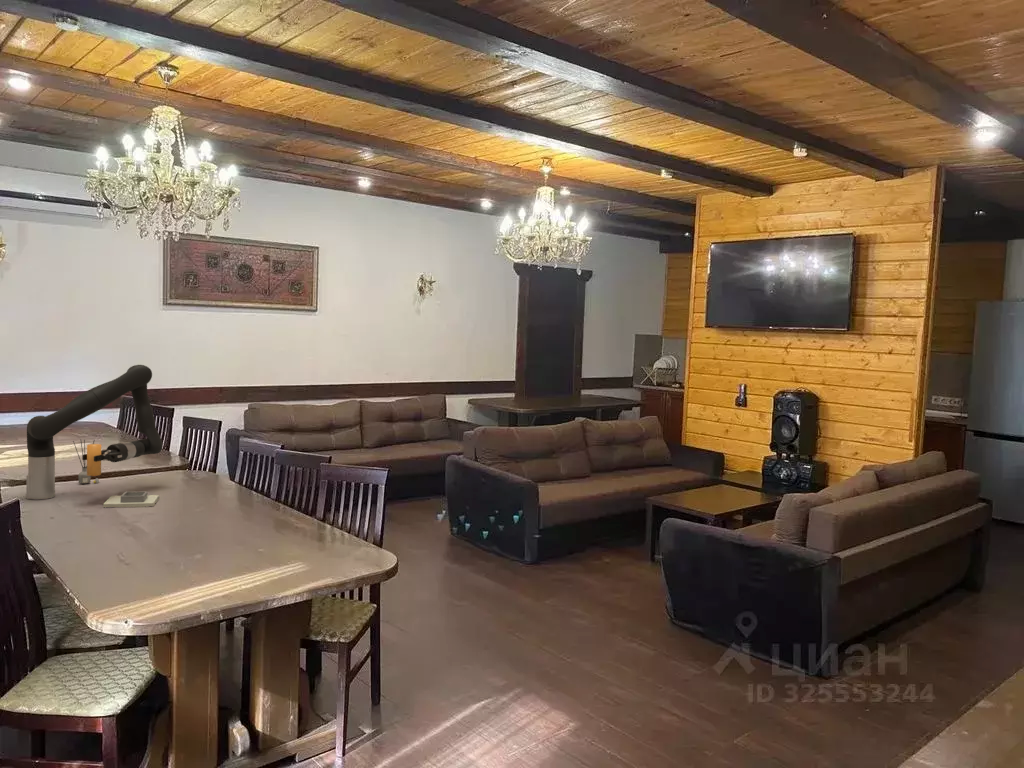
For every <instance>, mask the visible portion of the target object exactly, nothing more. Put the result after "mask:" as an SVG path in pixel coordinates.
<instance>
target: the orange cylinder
mask: <svg viewBox="0 0 1024 768" xmlns="http://www.w3.org/2000/svg"><path fill="white" fill-rule="evenodd" d="M101 450H102V444H100V443H94V444H93V443H90V444H86V454H87V460H86V466H87V475H88V476H91V477H96V476H101V475H102V461H97V462H95V461H94V456H97V455H101Z"/></svg>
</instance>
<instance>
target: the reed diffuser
mask: <svg viewBox="0 0 1024 768" xmlns="http://www.w3.org/2000/svg"><path fill="white" fill-rule="evenodd" d="M72 442H73V445H74V448H75V450H76V453H77V456H78V459H79V462H80V464H81V472H79V473H78V477H77V478H78V483H79V484H89V483H91V482H93V483H94V484H99V483H100V479H99V478H97V477H96V478H95V479H94V480H92V481H91V478H92V476H88V475H87V465H86V463H85V460H81V458H80V455H79V452H78V449H77V445H76V444H75V441H74V440H73V441H72ZM83 444H84V446H83ZM92 444H95V439H93V442H92ZM80 447H81V453H82V455H84V454H86V439H83V443H82V439H80ZM83 448H84V450H83ZM82 461H83V463H82Z"/></svg>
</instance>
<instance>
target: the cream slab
mask: <svg viewBox="0 0 1024 768" xmlns="http://www.w3.org/2000/svg"><path fill="white" fill-rule="evenodd" d="M148 493H149V492H148V490H147V491H146V490H145V491H124V492H123V494H121V495H110V496H109V498H108V499H107V500H106V501H105V502H104V503H102V508H103V509H107V508H106V507H121V508H148V507H147V506H153V507H155V505H156V504H157V502H158V501H159V500H158V499H160V494H152V495H151V494H148ZM155 503H156V504H155ZM145 506H146V507H145ZM104 507H105V508H104Z"/></svg>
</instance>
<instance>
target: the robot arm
mask: <svg viewBox="0 0 1024 768" xmlns="http://www.w3.org/2000/svg"><path fill="white" fill-rule="evenodd" d="M152 378H153V371H152V370H151V368H150V367H149V366H147V365H144V364H134V365H131V366H130V367H129V368H128V369H127V370H126V372H124V373H123V374H122V375H119V376H118V377H116V378H115V379H112V380H109V381H107V382H105V383H102V384H98V385H96V386H94V387H92V388H90V389H88V390H86V391H84V392H82V393H80V394H79V395H78V396H76V397H75V398H73V399H72V400H71V401H69V402H68V403H67V404H66V405H64V407H63V408H62V407H61V409H59V410H56V411H55V412H53V413H51V414H48V415H46V416H45V415H36V416H34V417H31V418H30V420H28V423H27V425H26V447H27V464H28V465H27V469H28V470H27V475H26V476H25V478H26V480H25V481H26V485H25V486H26V494H25V495H26V498H25V499H26V500H27V499H28V500H47V499H48V500H49V499H51V498H52V499H53V498H54V497H55V496H56V494H55V493H56V489H55V488H56V478H55V477H56V461H55V460H56V449H55V444H54V436H56V435H57V434H58V433H60V432H61V431H63V430H65V429H66V428H67V427H69V426H70V425H72V424H74V423H77V422H78V421H81V420H82V419H85V418H86V417H89V416H90V415H92V414H94V413H96V412H98V411H100V410H102V409H103V408H105V407H106V406H108V405H110V404H111V403H113V402H115V401H116V400H118V399H119V398H120V397H122V396H123V395H126V394H127V393H131V395H132V400H133V405H134V409H135V410H134V411H135V416H136V417H135V418H136V419H135V420H136V425H137V429H138V430H137V431H138V432H139V434H142V435H145V436H146V437H147V438H140V439H137V440H133V441H127V442H126V441H123V442H118V443H113V444H110V445H108V446H107V447H106V449H101V455H97V456H94V461H95V462H97V461H101V462H102V461H103V462H104V461H108V462H111V463H118V462H123V461H128V460H131V459H134V458H139V457H140V456H144V455H145V456H146V455H147V456H149V455H157V454H159V453H161V452H162V450H163V446H164V445H163V444H164V443H163V440H162V438H161V436H160V434H159V431H158V429H157V426H156V421H155V415H154V411H153V407H152V405H151V402H150V399H149V393H148V384H149V383H150V382H151V380H152ZM81 459H82V460H81V461H83V460H84V461H87V453H85V454H84V453H83V455H82V457H81Z"/></svg>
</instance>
